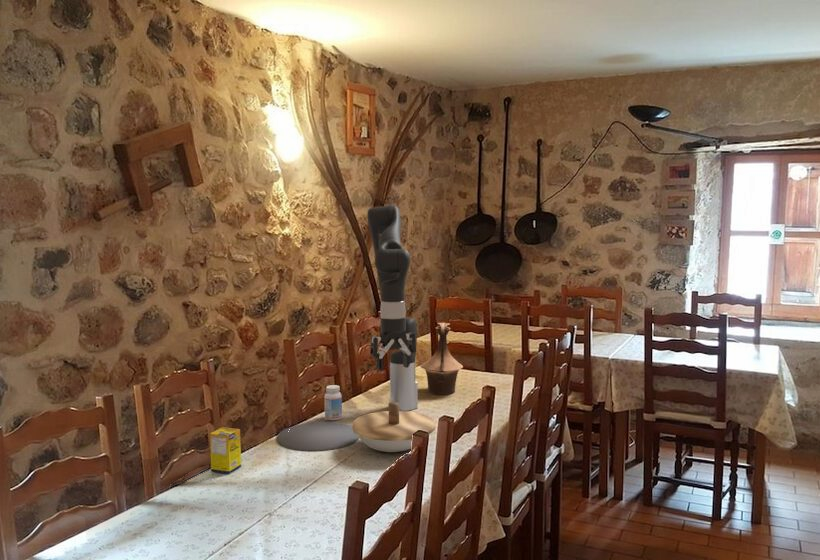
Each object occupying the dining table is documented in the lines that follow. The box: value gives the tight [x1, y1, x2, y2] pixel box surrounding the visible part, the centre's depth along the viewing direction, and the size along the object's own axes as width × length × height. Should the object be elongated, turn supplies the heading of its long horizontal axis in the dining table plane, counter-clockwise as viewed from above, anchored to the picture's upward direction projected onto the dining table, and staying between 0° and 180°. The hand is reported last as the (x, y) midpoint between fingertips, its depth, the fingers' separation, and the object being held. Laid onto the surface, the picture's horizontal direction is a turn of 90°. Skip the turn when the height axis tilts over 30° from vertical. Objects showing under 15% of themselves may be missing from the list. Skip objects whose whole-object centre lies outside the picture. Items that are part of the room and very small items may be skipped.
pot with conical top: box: [420, 322, 464, 395], centre depth 263 cm, size 18×17×28 cm
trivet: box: [276, 421, 360, 452], centre depth 210 cm, size 26×26×1 cm
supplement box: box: [209, 426, 242, 475], centre depth 183 cm, size 6×6×11 cm
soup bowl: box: [352, 428, 412, 453], centre depth 200 cm, size 24×24×7 cm
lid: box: [351, 401, 436, 441], centre depth 199 cm, size 25×25×7 cm
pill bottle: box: [323, 384, 343, 421], centre depth 229 cm, size 6×6×11 cm
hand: (393, 368), depth 199 cm, fingers open, 8 cm apart
